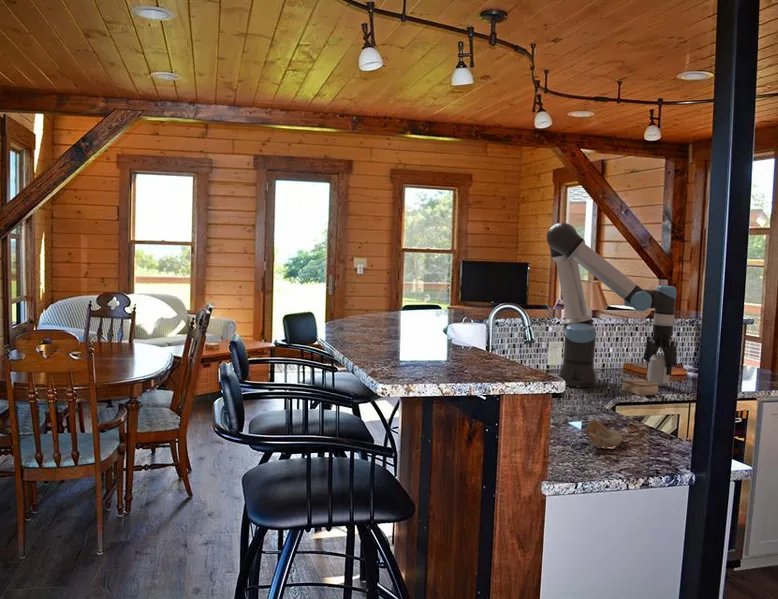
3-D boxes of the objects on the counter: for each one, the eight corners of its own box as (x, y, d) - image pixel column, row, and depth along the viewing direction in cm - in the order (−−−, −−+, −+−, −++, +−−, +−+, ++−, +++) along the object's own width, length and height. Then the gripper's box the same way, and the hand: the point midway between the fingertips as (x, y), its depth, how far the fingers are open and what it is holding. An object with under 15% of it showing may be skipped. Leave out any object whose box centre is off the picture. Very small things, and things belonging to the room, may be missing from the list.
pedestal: (622, 390, 272) (623, 380, 272) (639, 388, 276) (640, 378, 276) (640, 395, 264) (641, 385, 264) (657, 394, 268) (658, 383, 268)
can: (664, 383, 288) (667, 354, 287) (669, 387, 280) (672, 357, 279) (645, 381, 288) (648, 352, 287) (650, 385, 281) (653, 356, 280)
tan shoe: (576, 451, 190) (579, 415, 189) (604, 435, 207) (606, 402, 206) (607, 459, 185) (610, 421, 184) (633, 442, 202) (636, 407, 201)
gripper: (690, 328, 275) (685, 385, 277) (650, 320, 293) (645, 374, 295) (677, 328, 271) (671, 386, 273) (637, 320, 289) (631, 375, 292)
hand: (657, 380), depth 284 cm, fingers closed on can, 7 cm apart
